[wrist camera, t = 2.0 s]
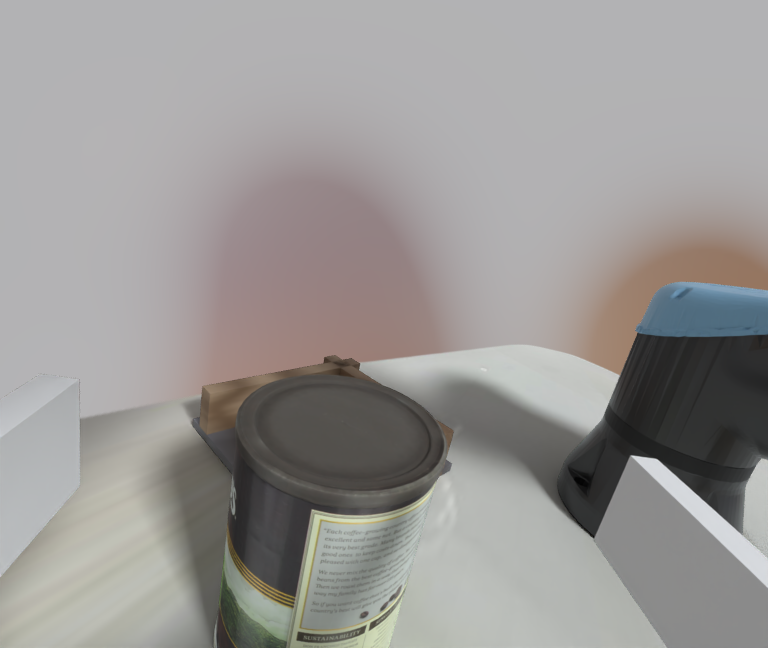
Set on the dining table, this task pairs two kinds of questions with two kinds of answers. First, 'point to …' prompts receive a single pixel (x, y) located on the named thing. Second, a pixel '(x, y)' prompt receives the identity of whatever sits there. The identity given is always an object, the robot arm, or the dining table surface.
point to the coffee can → (324, 513)
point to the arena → (229, 396)
